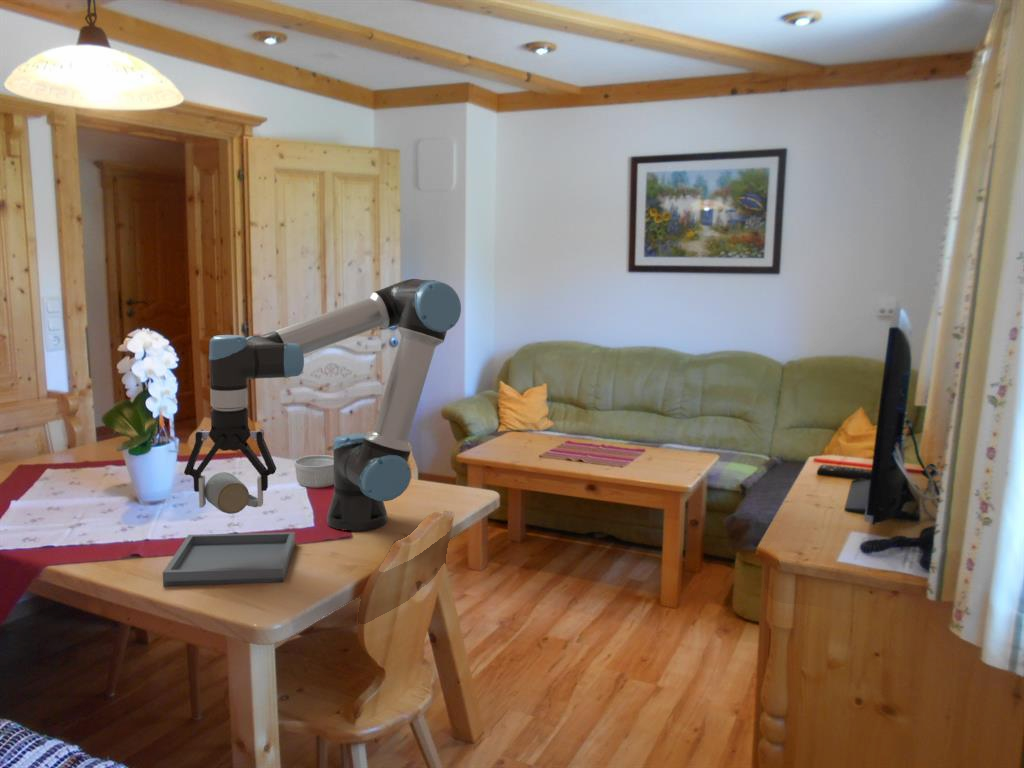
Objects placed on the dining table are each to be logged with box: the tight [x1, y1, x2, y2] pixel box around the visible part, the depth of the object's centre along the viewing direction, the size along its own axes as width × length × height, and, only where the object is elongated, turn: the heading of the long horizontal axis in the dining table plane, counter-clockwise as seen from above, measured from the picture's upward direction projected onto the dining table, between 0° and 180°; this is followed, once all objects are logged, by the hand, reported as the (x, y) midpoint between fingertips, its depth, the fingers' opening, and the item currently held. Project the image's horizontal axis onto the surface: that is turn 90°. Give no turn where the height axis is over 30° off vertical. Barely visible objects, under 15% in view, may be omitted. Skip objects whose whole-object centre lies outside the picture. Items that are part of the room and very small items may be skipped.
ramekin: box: [293, 454, 334, 489], centre depth 238 cm, size 13×13×7 cm
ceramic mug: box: [205, 471, 259, 515], centre depth 174 cm, size 11×8×8 cm
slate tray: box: [162, 531, 296, 587], centre depth 176 cm, size 24×22×3 cm
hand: (231, 505), depth 174 cm, fingers closed on ceramic mug, 11 cm apart
